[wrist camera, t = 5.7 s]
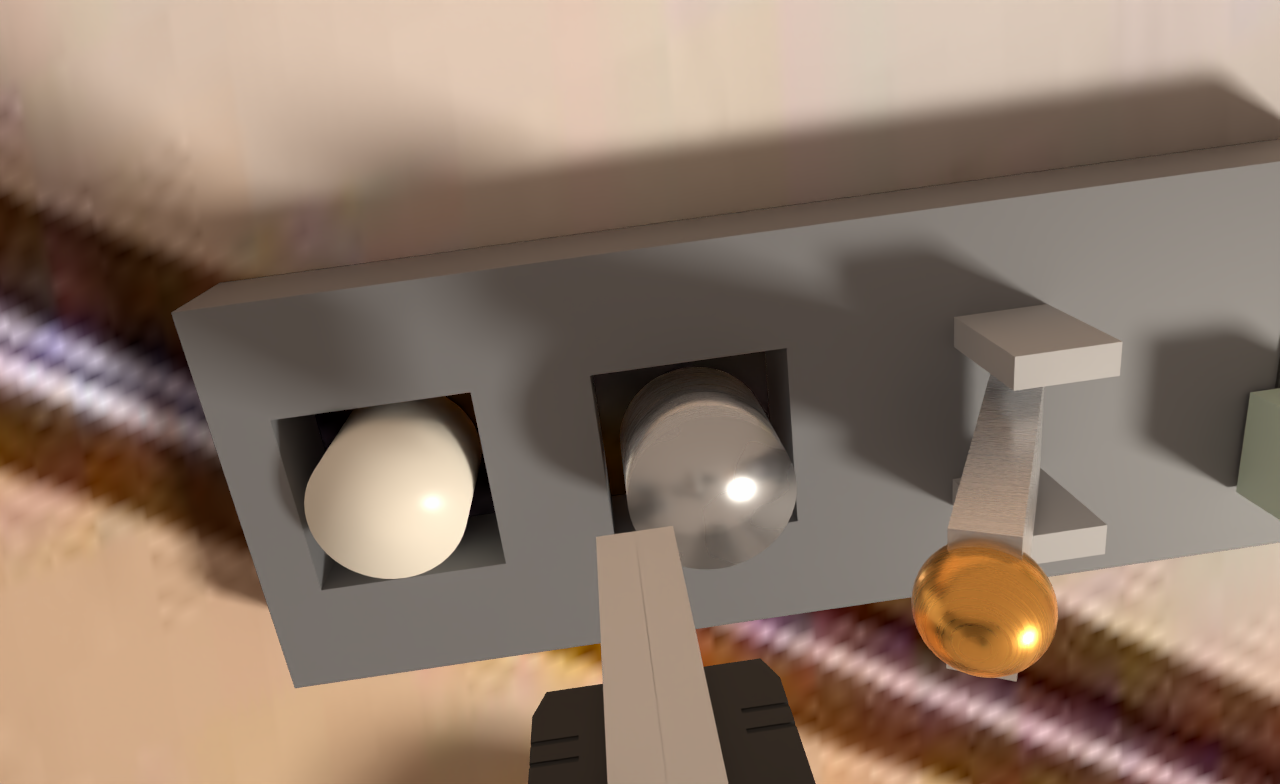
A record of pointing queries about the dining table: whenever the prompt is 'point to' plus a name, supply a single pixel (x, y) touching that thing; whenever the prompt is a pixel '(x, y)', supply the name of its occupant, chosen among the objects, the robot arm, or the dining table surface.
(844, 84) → the dining table surface
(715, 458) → the grey button
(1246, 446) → the slider
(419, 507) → the ivory button
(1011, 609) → the lever
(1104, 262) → the panel
